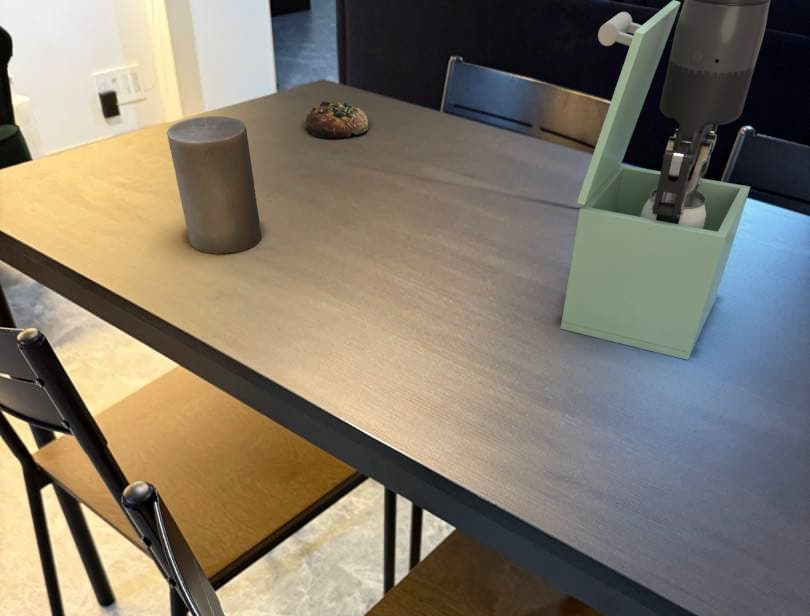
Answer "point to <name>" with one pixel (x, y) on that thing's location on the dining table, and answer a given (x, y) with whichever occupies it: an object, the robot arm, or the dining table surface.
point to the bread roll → (336, 120)
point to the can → (692, 208)
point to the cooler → (648, 265)
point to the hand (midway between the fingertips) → (668, 237)
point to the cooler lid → (627, 89)
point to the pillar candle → (215, 183)
